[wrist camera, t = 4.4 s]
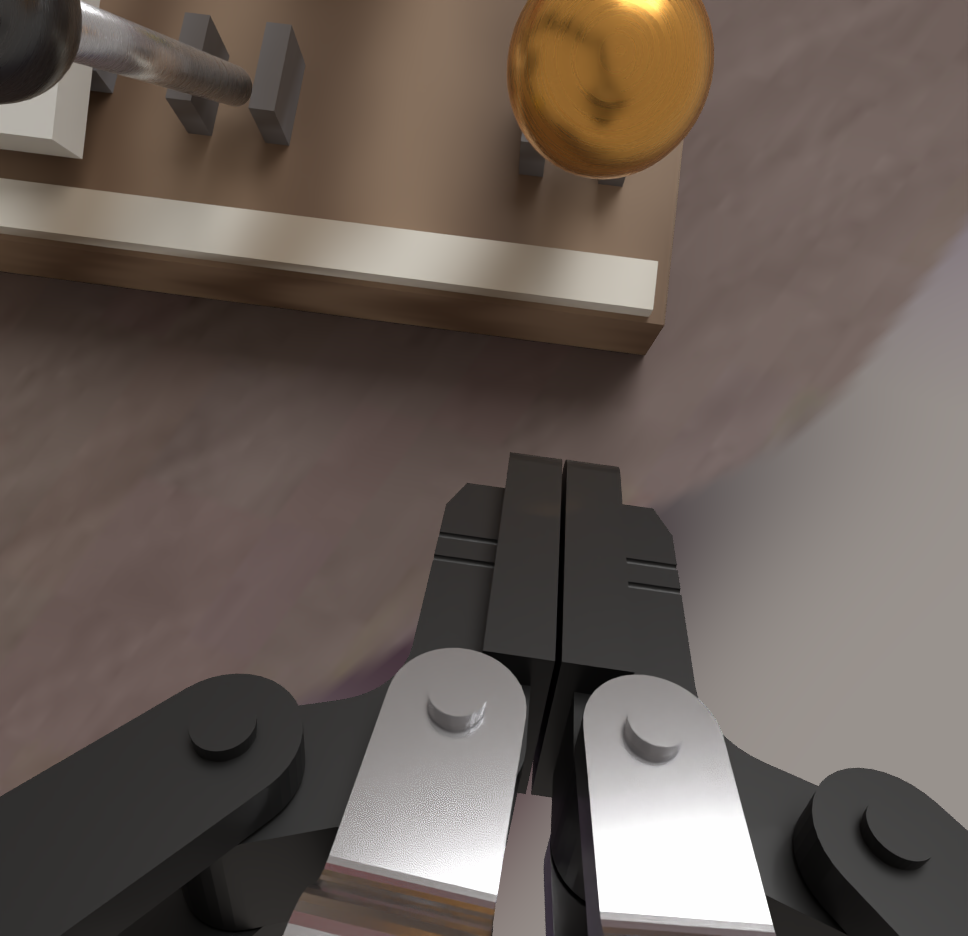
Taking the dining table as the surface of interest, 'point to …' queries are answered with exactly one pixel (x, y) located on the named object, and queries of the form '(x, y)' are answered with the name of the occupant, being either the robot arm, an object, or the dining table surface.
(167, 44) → the lever black
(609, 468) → the robot arm
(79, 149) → the block
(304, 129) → the panel
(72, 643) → the dining table surface
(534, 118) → the lever orange
